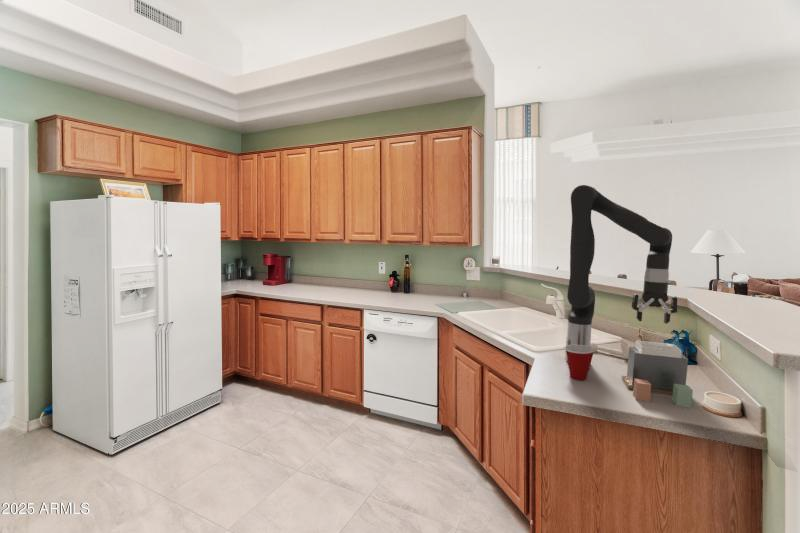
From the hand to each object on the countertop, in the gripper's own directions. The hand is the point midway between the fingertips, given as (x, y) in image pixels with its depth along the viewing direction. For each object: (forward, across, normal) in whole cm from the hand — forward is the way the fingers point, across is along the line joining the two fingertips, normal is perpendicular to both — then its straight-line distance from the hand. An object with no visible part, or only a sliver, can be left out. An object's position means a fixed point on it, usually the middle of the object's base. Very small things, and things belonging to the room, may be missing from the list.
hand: (652, 322), depth 142 cm
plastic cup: (+22, -26, -10) cm, 36 cm away
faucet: (+23, -9, +25) cm, 35 cm away
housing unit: (+22, 0, -10) cm, 24 cm away
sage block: (+22, +4, -22) cm, 31 cm away
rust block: (+22, -8, -22) cm, 32 cm away
